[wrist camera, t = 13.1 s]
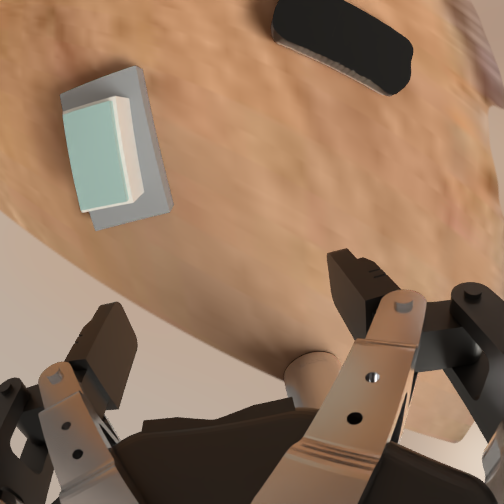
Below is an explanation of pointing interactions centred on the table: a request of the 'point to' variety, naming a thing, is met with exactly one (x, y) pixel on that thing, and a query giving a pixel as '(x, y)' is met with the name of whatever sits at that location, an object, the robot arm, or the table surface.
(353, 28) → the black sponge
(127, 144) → the block
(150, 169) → the stand
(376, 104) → the table surface
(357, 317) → the robot arm
